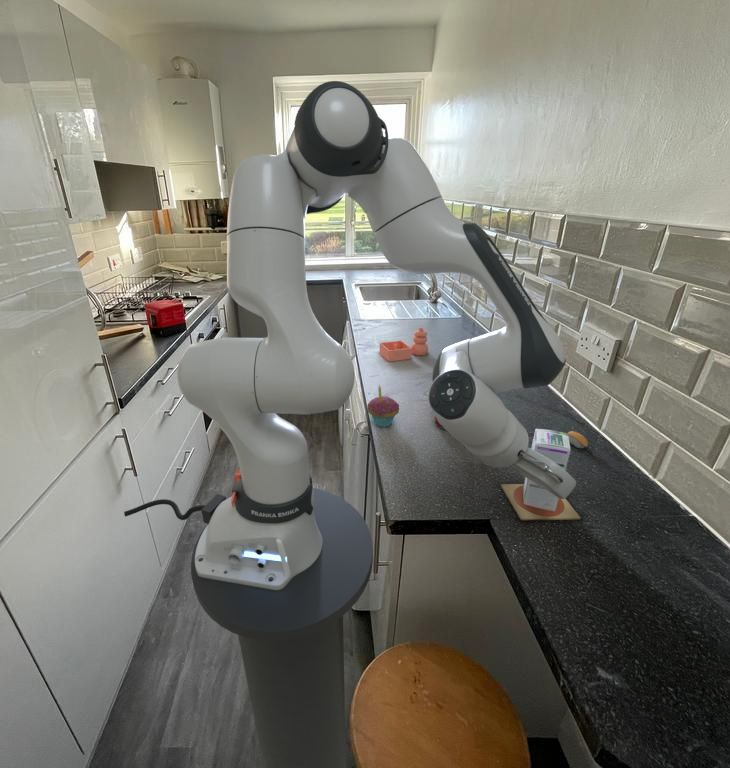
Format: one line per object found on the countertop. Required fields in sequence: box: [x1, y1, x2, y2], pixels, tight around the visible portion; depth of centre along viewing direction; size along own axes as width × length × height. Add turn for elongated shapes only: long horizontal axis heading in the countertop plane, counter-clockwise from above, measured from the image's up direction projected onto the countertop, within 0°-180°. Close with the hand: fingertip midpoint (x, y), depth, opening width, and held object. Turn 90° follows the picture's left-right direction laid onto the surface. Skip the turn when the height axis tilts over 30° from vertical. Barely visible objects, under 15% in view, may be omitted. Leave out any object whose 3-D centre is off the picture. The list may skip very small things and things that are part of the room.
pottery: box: [379, 327, 429, 362], centre depth 153 cm, size 18×10×10 cm, turn 103°
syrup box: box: [523, 428, 572, 512], centre depth 76 cm, size 6×6×14 cm
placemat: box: [499, 483, 581, 521], centre depth 79 cm, size 11×10×1 cm
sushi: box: [566, 430, 589, 449], centre depth 96 cm, size 3×6×3 cm, turn 14°
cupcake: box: [367, 384, 400, 428], centre depth 107 cm, size 9×8×12 cm
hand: (527, 469), depth 73 cm, fingers open, 8 cm apart
